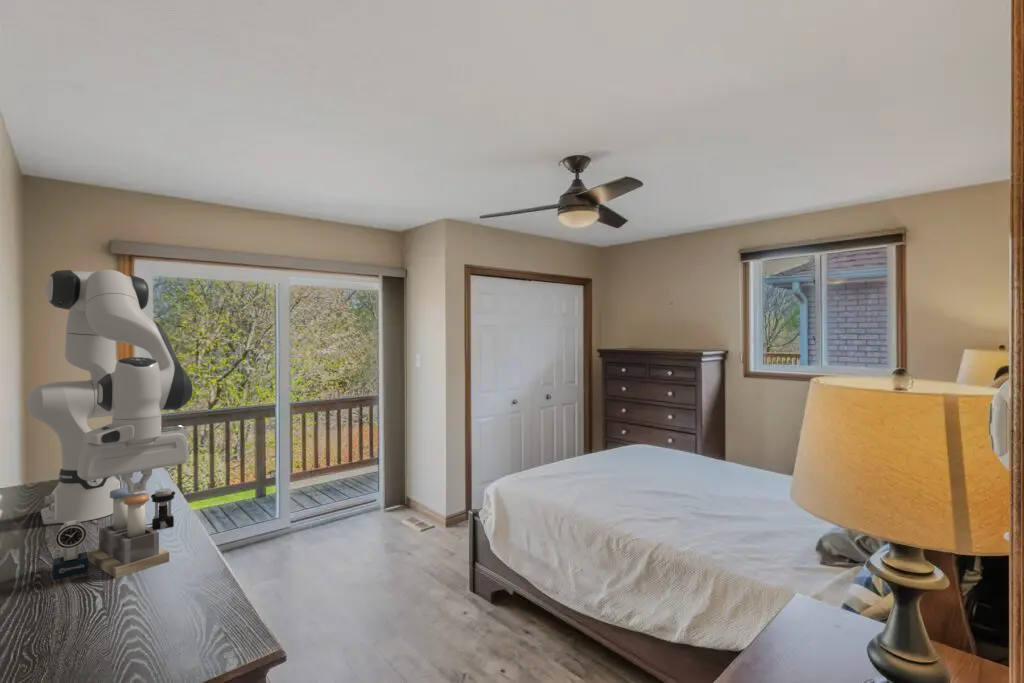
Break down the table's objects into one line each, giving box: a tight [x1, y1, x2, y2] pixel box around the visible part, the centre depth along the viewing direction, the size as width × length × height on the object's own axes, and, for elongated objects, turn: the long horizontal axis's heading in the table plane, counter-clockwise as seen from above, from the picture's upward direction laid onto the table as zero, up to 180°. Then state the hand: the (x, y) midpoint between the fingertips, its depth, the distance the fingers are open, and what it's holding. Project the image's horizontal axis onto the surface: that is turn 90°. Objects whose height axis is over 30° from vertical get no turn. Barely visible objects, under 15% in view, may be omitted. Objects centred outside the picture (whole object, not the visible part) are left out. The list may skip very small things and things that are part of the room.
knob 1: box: [110, 487, 135, 531], centre depth 115 cm, size 4×4×9 cm
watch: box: [52, 520, 90, 581], centre depth 106 cm, size 6×8×11 cm
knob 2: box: [124, 492, 150, 539], centre depth 110 cm, size 4×4×9 cm
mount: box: [87, 524, 170, 579], centre depth 112 cm, size 16×10×7 cm, turn 57°
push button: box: [145, 488, 176, 531], centre depth 133 cm, size 7×5×10 cm
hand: (136, 491), depth 110 cm, fingers closed
